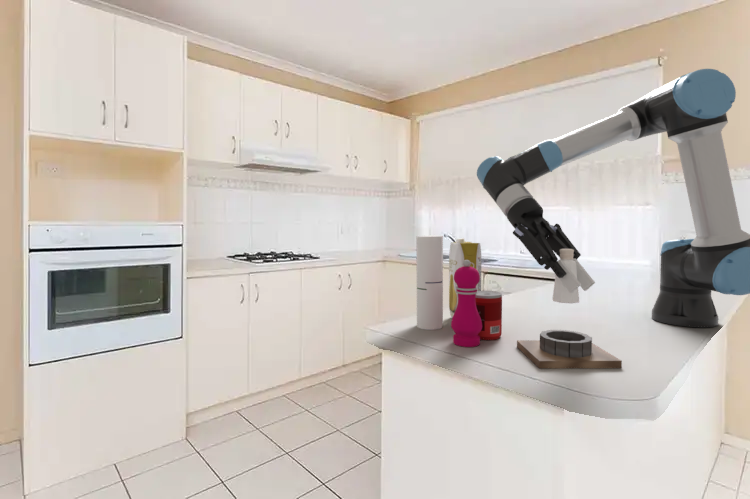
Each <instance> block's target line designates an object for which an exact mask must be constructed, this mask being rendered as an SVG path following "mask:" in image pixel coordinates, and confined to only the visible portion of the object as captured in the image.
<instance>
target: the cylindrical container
mask: <svg viewBox="0 0 750 499" xmlns="http://www.w3.org/2000/svg"><path fill="white" fill-rule="evenodd" d="M415 242H416V328H418V329H421V330H430V331H431V330H432V331H433V330H434V331H435V330H440V329H442V328H443V327H444V324H443V323H444V319H443V318H444V316H443V315H444V303H443V302H444V296H443V295H444V282H443V281H444V277H443V276H444V236H443V235H435V234H434V235H431V234H430V235H416V241H415Z"/></svg>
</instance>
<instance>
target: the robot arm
mask: <svg viewBox="0 0 750 499" xmlns="http://www.w3.org/2000/svg"><path fill="white" fill-rule="evenodd" d="M736 93H737V92H736V87H735V85H734V83H733V80H732V78H730V77H729V75H727V74H726V73H724V72H721V71H719V69H714V68H701V69H697V70H693V71H691V72H688V73H687V74H683V75H681V76H680V77H678V78H676V79H674V80H672V81H670V82H668V83H666V84H664V85H662V86H659V87H658V88H655V89H654V90H652V91H651V92H649V93H647V94H646V95H644V96H642V97H640V98H639V99H637V100H635V101H633V102H631V103H629V104H627V105H625V106H623V107H621V108H619V109H618V110H617V112H616V114H615V113H614V114H613V115H610V116H609V117H605V118H604V119H600V120H598V121H595V122H594V123H591V124H588V125H586V126H583V127H581V128H578V129H576V130H574V131H571V132H569V133H567V134H564V135H562V136H559V137H557V138H553V139H545V140H544V141H541V142H538V143H536V144H535V145H533V146H530V147H529V148H526V150H525V149H524V150H523V151H521V152H519V153H517V154H514V155H513V156H509V157H508V158H507V159H505V160H504V159H502V158H501V157H500V156H490V157H487V158H486V159H484V160H483V161H482V162H481V163H480V164H479V166H478V167H477V170H476V177H477V179H478V180H479V182H480V184H481V186H482V188H483V189H484V190H485V192H487V193H488V195H489V196H490V197H491V199H492V200H493V201H494V202H495V203H496V205H497V206H498V208H499V210H501V212H502V213H503V215H504V216H505V217H506V219H507V221H508V222H509V223H510V224H511V226H512V227H513V228H514V230H513V231H512V234H513V235H514V236H515V238H516V239H518V240H519V241H520V242H521V243H522V244H523V246H524V247H525V249H526V250H527V251H528V252H529V254H531V256H532V257H533V258H534V259H535V261H536V262H537V264H538V265H540V266H544V267H543V268H544V269H545V270H549V269H551V271H552V272H554V275H556V276H557V277H558V278H559V279H560V280H561V281H562V283H563V284H564V285H565V287H566V288H567V289H568V291H569V292H570V293H573V292H574V291H575V290H576V289H577V288H578V289H579V287H580V288H581V289H582V290H583V292H586V291H588V290H589V289H590V288H591V287H592V286H593V285H594V284H596V282H595V280H594V279H593V278H592V277H591V275H590V274H589V273H588V272H587V271H586V270H585V268H584V267H583V266H582V264H581V263H580V262H579V261H578V259H579V258H580V257H581V256H582V254H581V253H580V251H578V249H577V248H576V247H575V245H574V244H573V242H572V241H571V240H570V239H569V238H568V237H567V235H566V234H565V232H564V231H563V229H562V227H561V225H560V224H558V223H555V224H554V225H552V224H550V223H549V221H547V219H545V218H544V214H543V213H544V209H543V207H542V206H541V205H540V203H539V202H538V201H537V200H536V199H535V198H534V196H533V195H532V194H531V193H530V191H529V190H528V189H527V187H525V185H526V184H528V183H530V182H533V181H535V180H536V179H539V178H541V177H543V176H545V175H547V174H549V173H552V172H553V171H554V170H556V169H558V168H559V167H562V166H564V165H567V164H569V163H572V162H574V161H577V160H579V159H582V158H585V157H586V156H589V155H592V154H595V153H596V152H599V151H602V150H604V149H607V148H609V147H612V146H615V145H617V144H619V143H622V142H625V141H629V142H634V141H637V140H639V139H641V138H646V137H650V136H653V135H657V134H662V133H666V135H667V139H668V140H671V141H672V142H675V143H676V145H677V150H678V153H679V158H680V164H681V168H682V173H683V178H684V183H685V187H686V192H687V197H688V200H689V205H690V206H689V207H690V211H691V215H692V220H693V225H694V230H695V233H696V234H695V238H684V239H671V240H666V241H664V242H663V244H662V245H661V250H660V254H659V255H660V271H659V272H660V273H659V274H660V276H659V277H660V278H659V294H658V295H657V298H656V300H655V302H654V304H653V308H652V310H651V319H652V320H654V321H656V322H659V323H662V324H663V323H664V324H667V325H671V326H679V327H687V328H688V327H689V328H714V327H718V326H719V315H718V312H717V308H716V307H715V304H714V301H713V299H712V291H713V292H716V293H720V294H723V295H733V296H745V295H749V294H750V233H747V232H746V231H744V230H743V229H742V227H741V221H740V218H739V212H738V207H737V203H736V202H737V201H736V197H735V193H734V188H733V184H732V178H731V173H730V168H729V164H728V160H727V154H726V149H725V146H724V144H725V143H724V140H723V139H724V138H723V135H722V131H723V129H724V128H725V127H726V125H727V124H728V123H729V121H728V116H727V115H728V114H727V112H728V111H729V110H730V109H732V106H733V103H735V100H736V95H737V94H736ZM560 249H573V250H574V253H573V254H574V257H573V261H575V262H576V268H577V278H576V277H575V276H574V274H573V273H572V272H571V271H570V269H569V268H568V267H567V266H566V264H565V263H564V262H563V260H560V259H558V258H560ZM557 256H558V257H557ZM558 260H559V261H558ZM557 261H558V262H557Z"/></svg>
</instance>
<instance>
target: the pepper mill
mask: <svg viewBox="0 0 750 499" xmlns="http://www.w3.org/2000/svg"><path fill="white" fill-rule="evenodd" d="M463 265H464V266H463V267H460V268H458V269H457V270H456V271H455V274H454V281H455V283H456V284H457V287H456V290H457V291H456V293H458V305H457V308H456V311H455V313H454V315H453V318H452V317H451V318H452V319H451V320H450V321H451V322H450V324H451V325H450V327H451V329H452V331H453V332H454V334H453V335H452V342H453V344H454V345H456V346H458V347H463V348H473V347H478V346H479V345H480V344H481V340H480V336H479V335H478V333H479V332H480V331H481V330H482V321H481V318H480V315H479V313H478V311H477V308H476V302H475V298H476V294H477V293H478V292H477V289H478V288H477V287H476V285H477V284H478V283H479V281H480V275H479V272H478V271H477V270H476V269H475V268H473V267H470V265H471V262H470V261H469V260H465V261H464V262H463Z"/></svg>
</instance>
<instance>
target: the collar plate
mask: <svg viewBox="0 0 750 499" xmlns="http://www.w3.org/2000/svg"><path fill="white" fill-rule="evenodd" d="M516 348H518V349H519V351H521V353H523V354H524V355H525V356H526V357H527V358H528V359H529V360H530V361H531V362H532V363H533V364H534V365H535V366H536V367H537V368H538V369H622V366H623V363H622V362H623V361H622V360H621V359H620V358H618V357H617V356H614V355H613V354H611V353H610V352H608V351H606V350H604V349H603V348H601V347H600V346H598V345H596V344H594V343H593V337H592V336H590V335H589V334H586V333H583V332H579V331H574V330H567V329H547V330H542V331H541V332H540V334H539V340H538V339H537V340H535V339H532V340H530V339H529V340H527V339H525V340H521V339H520V340H516Z"/></svg>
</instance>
